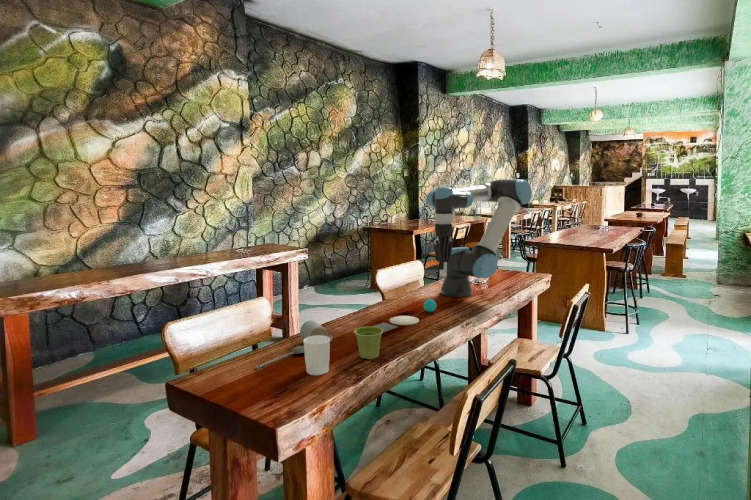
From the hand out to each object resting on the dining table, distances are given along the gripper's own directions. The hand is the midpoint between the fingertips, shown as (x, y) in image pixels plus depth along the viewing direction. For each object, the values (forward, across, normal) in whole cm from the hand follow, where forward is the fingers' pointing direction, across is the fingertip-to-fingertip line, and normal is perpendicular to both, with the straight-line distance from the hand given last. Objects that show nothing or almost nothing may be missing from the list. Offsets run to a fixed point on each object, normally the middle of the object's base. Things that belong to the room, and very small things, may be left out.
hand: (443, 276), depth 210 cm
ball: (+11, +9, 0) cm, 15 cm away
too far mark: (+14, +38, 0) cm, 41 cm away
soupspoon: (+16, +83, -2) cm, 84 cm away
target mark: (+14, +26, 0) cm, 30 cm away
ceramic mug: (+15, +66, -6) cm, 68 cm away
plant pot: (+15, +63, +17) cm, 67 cm away
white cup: (+15, +82, +14) cm, 85 cm away
